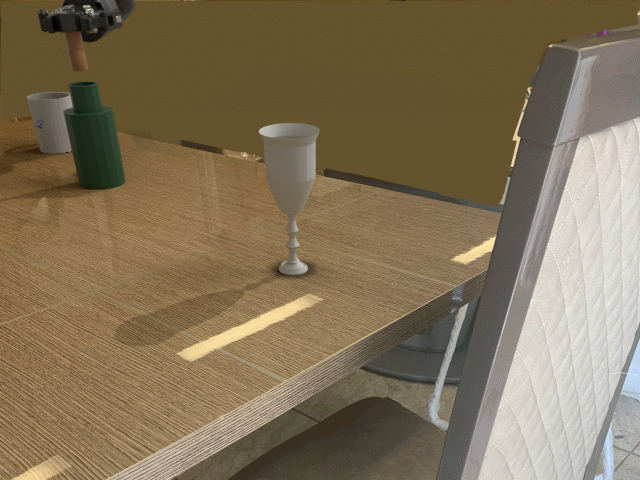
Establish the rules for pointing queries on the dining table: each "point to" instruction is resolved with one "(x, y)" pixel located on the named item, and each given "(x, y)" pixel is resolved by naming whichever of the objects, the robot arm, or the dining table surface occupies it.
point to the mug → (50, 120)
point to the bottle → (93, 138)
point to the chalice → (290, 177)
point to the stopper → (72, 37)
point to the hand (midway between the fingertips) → (66, 25)
